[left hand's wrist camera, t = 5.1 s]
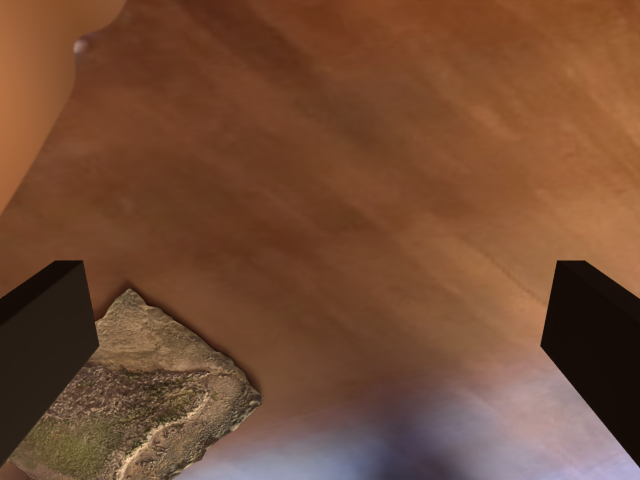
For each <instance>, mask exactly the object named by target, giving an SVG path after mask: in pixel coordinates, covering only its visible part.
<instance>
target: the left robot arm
mask: <svg viewBox="0 0 640 480" xmlns="http://www.w3.org/2000/svg"><path fill="white" fill-rule="evenodd" d="M99 346H100V345H99V340H98V335H97V330H96V325H95V320H94V315H93V309H92V304H91V299H90V294H89V289H88V284H87V279H86V274H85V269H84V264H83V261H54V262H52V263H51V264H50V265H48V266H47V267H45V268H44V269H42V270H41V271H39V272H38V273H37V274H35V275H34V276H32V277H31V278H29V279H28V280H27V281H25V282H24V283H22V284H21V285H19V286H18V287H17V288H15V289H14V290H12V291H11V292H9V293H8V294H7V295H5V296H4V297H2V298H1V299H0V468H1V466H2V465H3V464H4V463H5V461H6V460H7V459H8V458H9V457H10V455H11V454H12V453H13V452H14V450H15V449H16V448H17V447H18V446H19V444H20V443H21V442H22V441H23V439H24V438H25V437H26V436H27V435H28V433H29V432H30V431H31V430H32V428H33V427H34V426H35V425H36V423H37V422H38V421H39V420H40V419H41V417H42V416H43V415H44V414H45V412H46V411H47V410H48V409H49V408H50V406H51V405H52V404H53V403H54V401H55V400H56V399H57V398H58V397H59V395H60V394H61V393H62V392H63V390H64V389H65V388H66V387H67V385H68V384H69V383H70V382H71V381H72V379H73V378H74V377H75V376H76V374H77V373H78V372H79V371H80V370H81V368H82V367H83V366H84V365H85V363H86V362H87V361H88V360H89V358H90V357H91V356H92V355H93V354H94V352H95V351H96V350H97V349H98V347H99ZM540 346H541V347H542V349H543V350H544V351H545V352H546V354H547V355H548V356H549V357H550V358H551V360H552V361H553V362H554V363H555V365H556V366H557V367H558V368H559V370H560V371H561V372H562V373H563V374H564V376H565V377H566V378H567V379H568V381H569V382H570V383H571V384H572V385H573V387H574V388H575V389H576V390H577V392H578V393H579V394H580V395H581V397H582V398H583V399H584V400H585V401H586V403H587V404H588V405H589V406H590V408H591V409H592V410H593V411H594V412H595V414H596V415H597V416H598V417H599V419H600V420H601V421H602V422H603V423H604V425H605V426H606V427H607V428H608V430H609V431H610V432H611V433H612V435H613V436H614V437H615V438H616V439H617V441H618V442H619V443H620V444H621V446H622V447H623V448H624V449H625V450H626V452H627V453H628V454H629V455H630V457H631V458H632V459H633V460H634V461H635V463H636V464H637V465H638V466H639V468H640V299H639V298H638V297H636V296H635V295H633V294H632V293H631V292H629V291H628V290H626V289H625V288H623V287H622V286H621V285H619V284H618V283H616V282H615V281H613V280H612V279H611V278H609V277H608V276H606V275H605V274H603V273H602V272H601V271H599V270H598V269H596V268H595V267H593V266H592V265H590V264H589V263H588V262H586V261H557V264H556V269H555V274H554V279H553V284H552V289H551V294H550V299H549V304H548V309H547V315H546V320H545V325H544V330H543V335H542V340H541V345H540Z"/></svg>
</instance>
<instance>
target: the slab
mask: <svg viewBox="0 0 640 480" xmlns="http://www.w3.org/2000/svg"><path fill="white" fill-rule="evenodd" d="M95 325H96V330H97V335H98V340H99V345H100V346H99V347H98V349H97V350H96V351H95V352H94V354H93V355H92V356H91V357H90V358H89V360H88V361H87V362H86V363H85V365H84V366H83V367H82V368H81V370H80V371H79V372H78V373H77V374H76V376H75V377H74V378H73V379H72V381H71V382H70V383H69V384H68V385H67V387H66V388H65V389H64V390H63V392H62V393H61V394H60V395H59V397H58V398H57V399H56V400H55V401H54V403H53V404H52V405H51V406H50V408H49V409H48V410H47V411H46V412H45V414H44V415H43V416H42V417H41V419H40V420H39V421H38V422H37V423H36V425H35V426H34V427H33V428H32V430H31V431H30V432H29V433H28V435H27V436H26V437H25V438H24V439H23V441H22V442H21V443H20V444H19V446H18V447H17V448H16V449H15V450H14V452H13V453H12V454H11V455H10V457H9V458H8V459H7V461H9V462H10V463H12V464H14V465H16V466H17V467H18V468H20V469H21V470H22V471H24V472H25V473H26V474H27V476H29V477H31V478H33V479H34V480H172V479H174V478H175V477H176V476H177V475H179V474H180V473H181V472H182V471H183V470H184V469H185V468H187V467H188V466H190V465H191V464H193V463H195V462H197V461H200V460H201V459H202V458H203V456H204V454H205V452H206V450H207V449H208V448H209V447H211V446H212V445H213V444H214V443H215V442H216V441H218V440H219V439H220V438H222V437H223V436H225V435H227V434H228V433H230V432H232V431H234V430H236V428H237V427H238V426H239V425H240V424H241V423H242V422H243V421H244V420H245V419H246V418H247V417H248V416H249V415H250V414H251V413H252V412H253V411H254V410H255V409H257V408H258V407H259V406H260V405H261V404H262V400H263V395H261V394H259V393H258V392H257V391H256V390H255V389H253V388H252V387H251V386H250V384H249V382H248V379H247V377H246V375H245V373H244V372H243V371H242V370H240V369H239V368H238V367H236V366H235V365H234V363H233V361H232V360H231V359H230V358H229V357H227V356H225V355H223V354H222V353H220V352H216V351H215V350H213V349H212V348H211V347H210V346H209V345H208V344H207V343H206V342H205V341H204V340H203V339H202V338H200V337H199V336H197V335H196V334H195V333H193V332H192V331H190V330H189V329H188V328H186V327H185V326H183V325H181V324H179V323H177V322H176V321H174V320H173V318H172V317H170V316H168V315H166V314H165V313H163V312H162V310H161V309H160V308H157V307H151V306H147V305H146V303H145V302H144V300H143V299H142V298H141V297H140V296H139V295H138V294H137V293H136V292H135V291H133V290H132V289H128V290H127V291H125V292H124V293H123V294H121V295H120V296H119V297H118V298H117V299H115V301H114V303H113V304H112V305H111V306H110V307H109V309H108V310H107V312H106V314H105V316H104V317H103V318H101V319H99V320H97V321H96V322H95Z"/></svg>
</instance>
